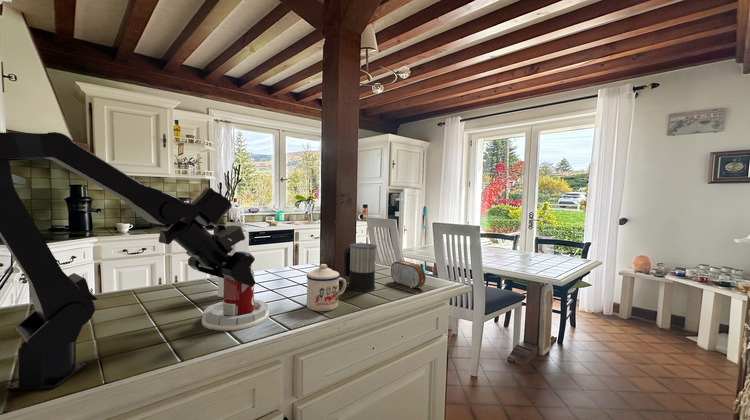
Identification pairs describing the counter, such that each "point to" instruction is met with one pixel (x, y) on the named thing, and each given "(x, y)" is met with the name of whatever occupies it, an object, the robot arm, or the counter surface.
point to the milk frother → (360, 266)
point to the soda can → (238, 298)
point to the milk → (237, 247)
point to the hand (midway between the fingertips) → (242, 281)
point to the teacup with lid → (323, 289)
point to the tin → (408, 274)
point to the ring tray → (234, 317)
